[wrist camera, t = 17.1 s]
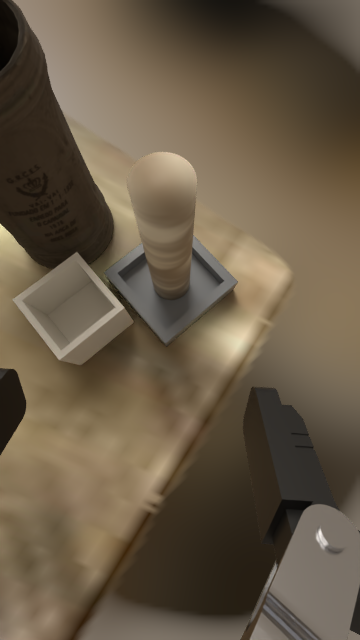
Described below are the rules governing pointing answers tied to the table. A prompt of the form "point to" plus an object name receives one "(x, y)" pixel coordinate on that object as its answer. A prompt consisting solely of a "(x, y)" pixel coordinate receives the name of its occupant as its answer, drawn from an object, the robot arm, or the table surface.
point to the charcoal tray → (171, 315)
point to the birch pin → (165, 218)
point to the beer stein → (42, 158)
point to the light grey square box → (73, 311)
